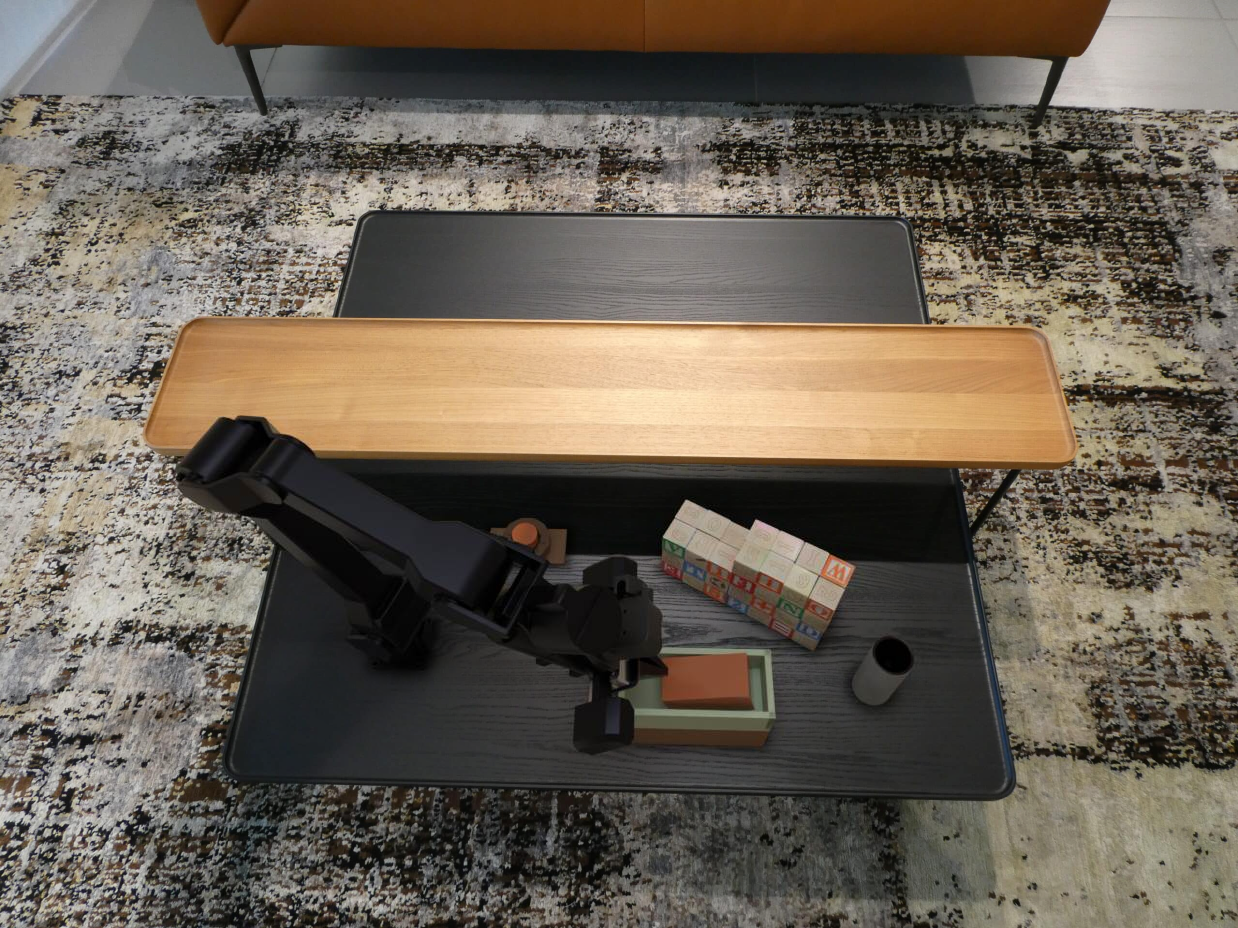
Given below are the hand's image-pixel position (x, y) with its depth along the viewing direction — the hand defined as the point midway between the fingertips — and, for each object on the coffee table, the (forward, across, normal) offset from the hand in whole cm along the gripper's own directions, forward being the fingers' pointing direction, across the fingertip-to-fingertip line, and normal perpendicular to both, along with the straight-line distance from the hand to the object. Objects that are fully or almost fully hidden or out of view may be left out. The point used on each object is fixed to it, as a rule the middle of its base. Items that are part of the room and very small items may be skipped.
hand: (665, 672), depth 86 cm
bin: (+12, 0, +7) cm, 13 cm away
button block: (-3, +21, +22) cm, 30 cm away
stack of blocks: (+17, +16, +2) cm, 23 cm away
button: (-5, +21, +20) cm, 30 cm away
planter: (+27, +4, -8) cm, 28 cm away
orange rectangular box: (+3, 0, +3) cm, 4 cm away
